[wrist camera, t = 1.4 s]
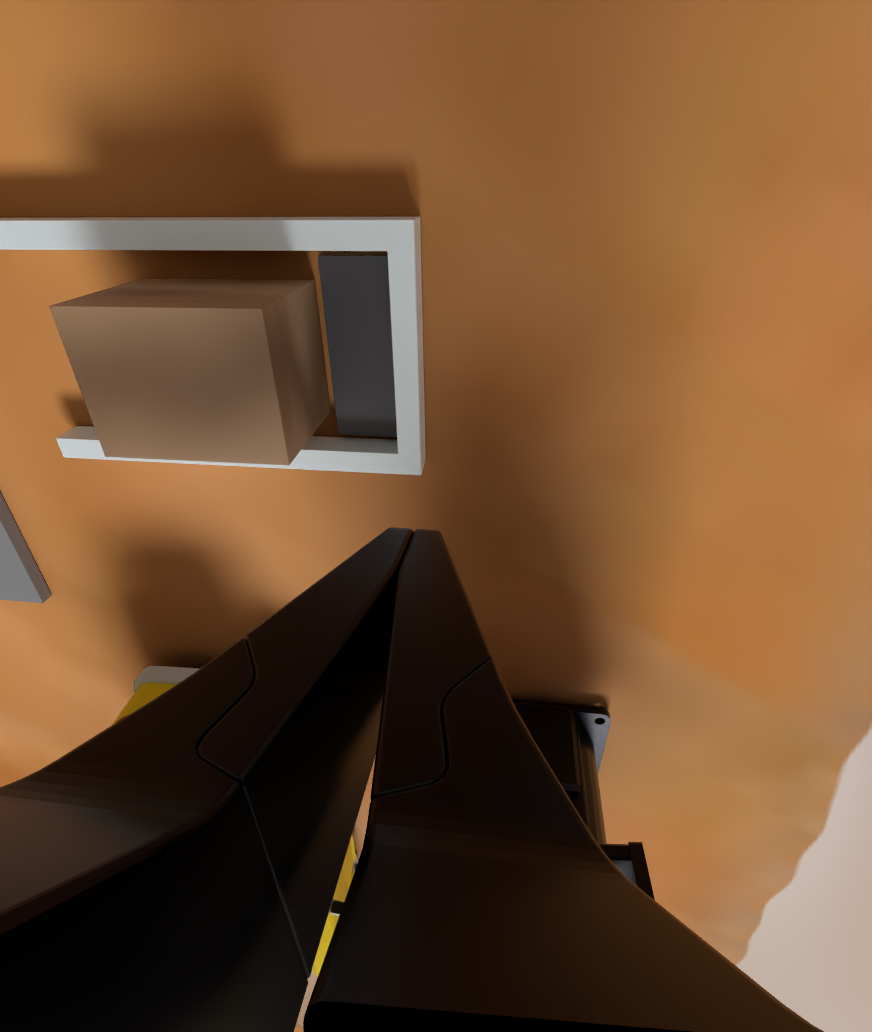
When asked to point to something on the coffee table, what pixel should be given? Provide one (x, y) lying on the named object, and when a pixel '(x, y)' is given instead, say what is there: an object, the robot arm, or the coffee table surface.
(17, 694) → the coffee table surface
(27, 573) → the slate coaster
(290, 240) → the acrylic channel
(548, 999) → the robot arm
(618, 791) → the coffee table surface
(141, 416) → the walnut block
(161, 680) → the toy car
